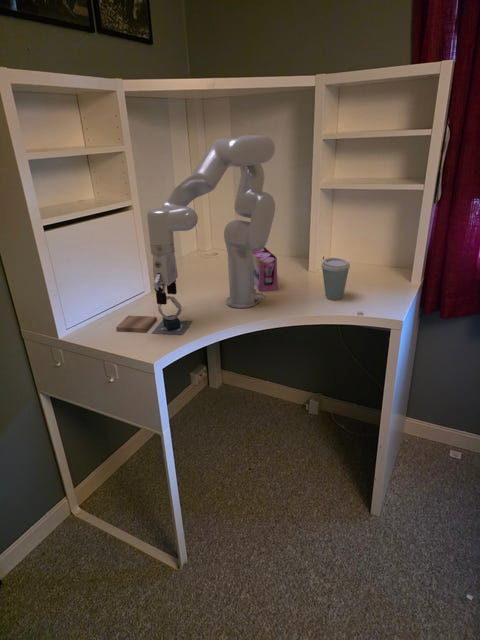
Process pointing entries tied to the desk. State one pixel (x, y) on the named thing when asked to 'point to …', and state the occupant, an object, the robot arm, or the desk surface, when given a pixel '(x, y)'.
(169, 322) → the watch
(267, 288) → the gum box
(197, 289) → the desk surface
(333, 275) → the disposable coffee cup
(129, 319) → the walnut board
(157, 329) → the mat
